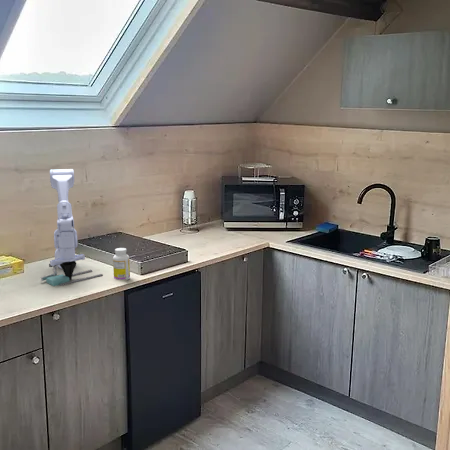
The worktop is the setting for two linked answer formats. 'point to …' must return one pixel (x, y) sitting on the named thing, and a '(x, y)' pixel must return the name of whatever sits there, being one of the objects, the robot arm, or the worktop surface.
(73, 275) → the channel
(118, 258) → the supplement bottle
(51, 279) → the cover
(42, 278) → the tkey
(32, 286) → the worktop surface
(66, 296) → the worktop surface
